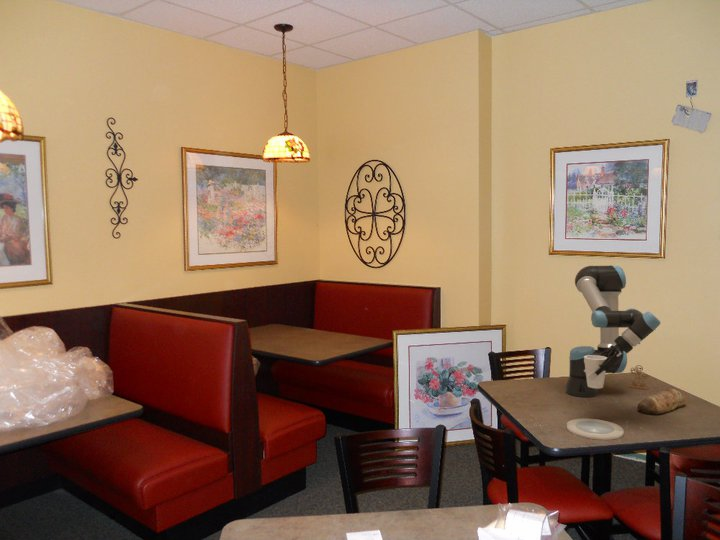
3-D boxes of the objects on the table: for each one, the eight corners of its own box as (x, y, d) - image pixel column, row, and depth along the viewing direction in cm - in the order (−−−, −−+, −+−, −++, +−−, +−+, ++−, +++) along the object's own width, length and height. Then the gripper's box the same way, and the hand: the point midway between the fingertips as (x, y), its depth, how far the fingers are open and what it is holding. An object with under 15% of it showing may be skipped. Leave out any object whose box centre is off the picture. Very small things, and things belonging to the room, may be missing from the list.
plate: (555, 426, 246) (555, 423, 246) (591, 418, 256) (591, 415, 256) (597, 443, 226) (597, 440, 226) (635, 433, 236) (635, 430, 236)
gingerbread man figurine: (648, 388, 300) (649, 365, 299) (646, 390, 297) (647, 367, 296) (630, 385, 306) (631, 363, 305) (628, 387, 303) (629, 364, 302)
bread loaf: (667, 424, 251) (670, 403, 250) (626, 412, 263) (628, 392, 262) (694, 409, 275) (696, 389, 274) (656, 399, 287) (658, 380, 286)
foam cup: (606, 384, 257) (606, 355, 256) (607, 390, 248) (608, 360, 247) (583, 383, 260) (583, 354, 259) (584, 388, 251) (584, 359, 250)
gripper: (640, 352, 239) (598, 388, 243) (627, 342, 260) (589, 375, 265) (626, 339, 240) (585, 375, 244) (615, 330, 261) (577, 363, 265)
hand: (587, 375), depth 254 cm, fingers closed on foam cup, 9 cm apart
